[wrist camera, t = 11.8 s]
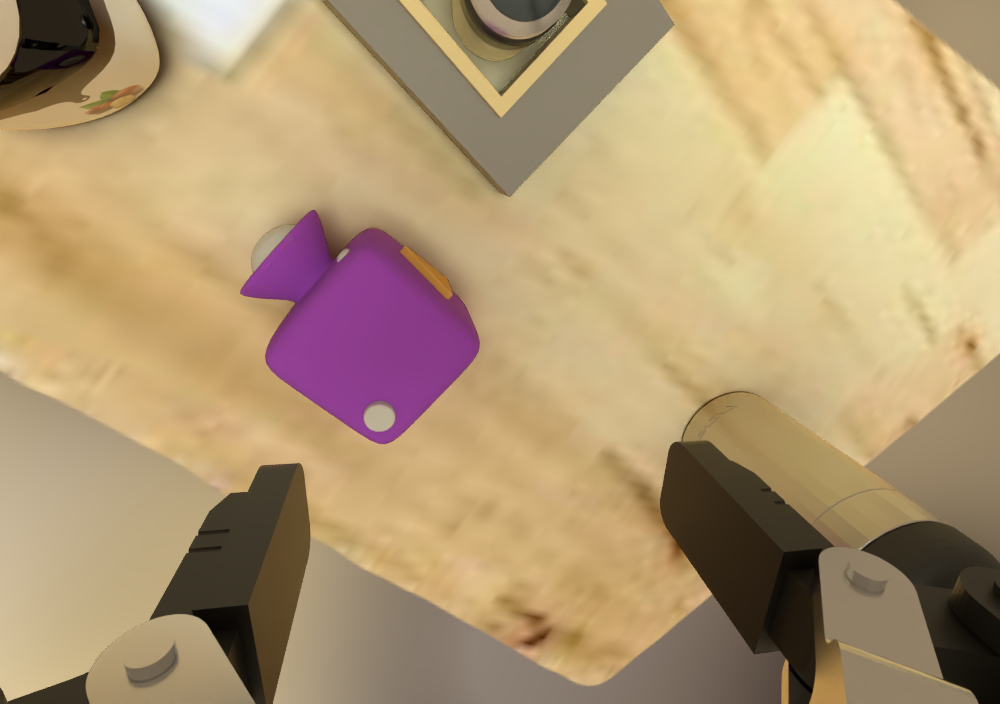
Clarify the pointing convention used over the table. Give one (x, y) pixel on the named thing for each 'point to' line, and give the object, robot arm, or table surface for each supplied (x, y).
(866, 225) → the table surface
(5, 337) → the table surface
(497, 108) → the mount plate
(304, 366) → the toy camera
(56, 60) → the spread jar
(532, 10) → the lens
